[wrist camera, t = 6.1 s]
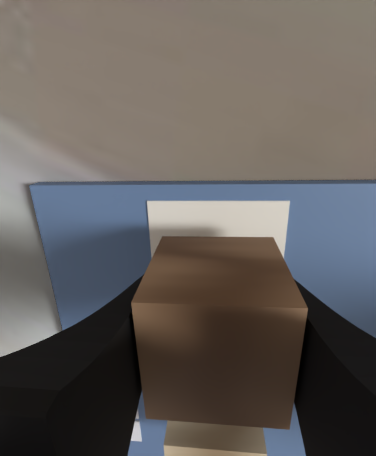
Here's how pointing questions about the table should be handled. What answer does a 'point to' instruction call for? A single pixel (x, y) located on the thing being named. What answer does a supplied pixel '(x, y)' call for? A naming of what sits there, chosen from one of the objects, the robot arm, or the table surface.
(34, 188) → the blueprint board
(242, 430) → the maple block
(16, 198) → the table surface
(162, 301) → the walnut block
